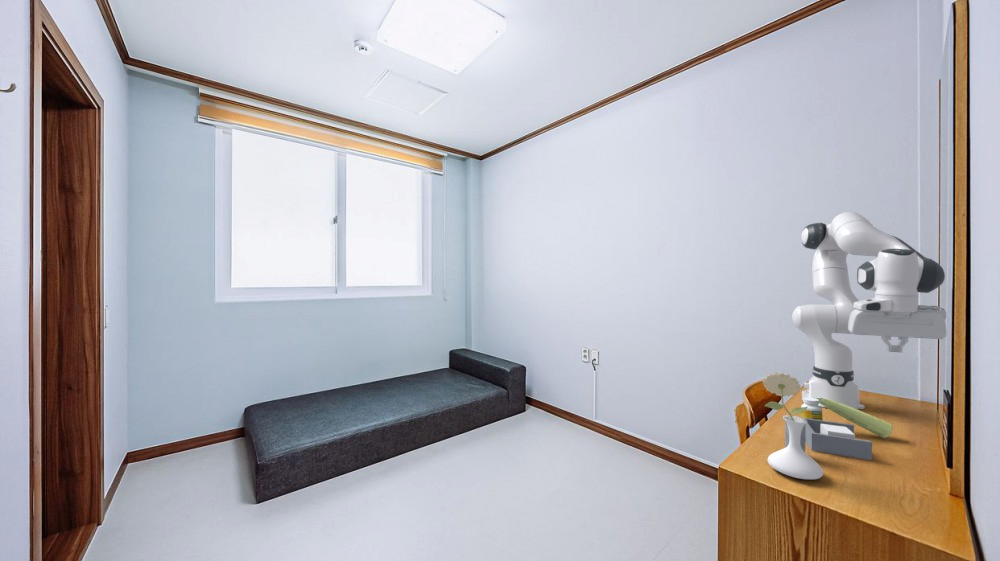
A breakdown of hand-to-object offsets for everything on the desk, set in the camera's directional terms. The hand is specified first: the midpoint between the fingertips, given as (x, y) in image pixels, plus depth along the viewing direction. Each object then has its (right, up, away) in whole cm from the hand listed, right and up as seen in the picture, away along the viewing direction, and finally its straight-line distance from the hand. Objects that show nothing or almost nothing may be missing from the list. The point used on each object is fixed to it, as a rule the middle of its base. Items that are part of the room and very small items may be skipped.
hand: (894, 351), depth 112 cm
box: (-17, -28, +1) cm, 33 cm away
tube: (+5, -26, +6) cm, 27 cm away
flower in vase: (-41, -29, -13) cm, 51 cm away
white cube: (-18, -28, -1) cm, 33 cm away
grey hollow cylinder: (-33, -28, -5) cm, 44 cm away
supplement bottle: (-13, -28, +14) cm, 34 cm away
